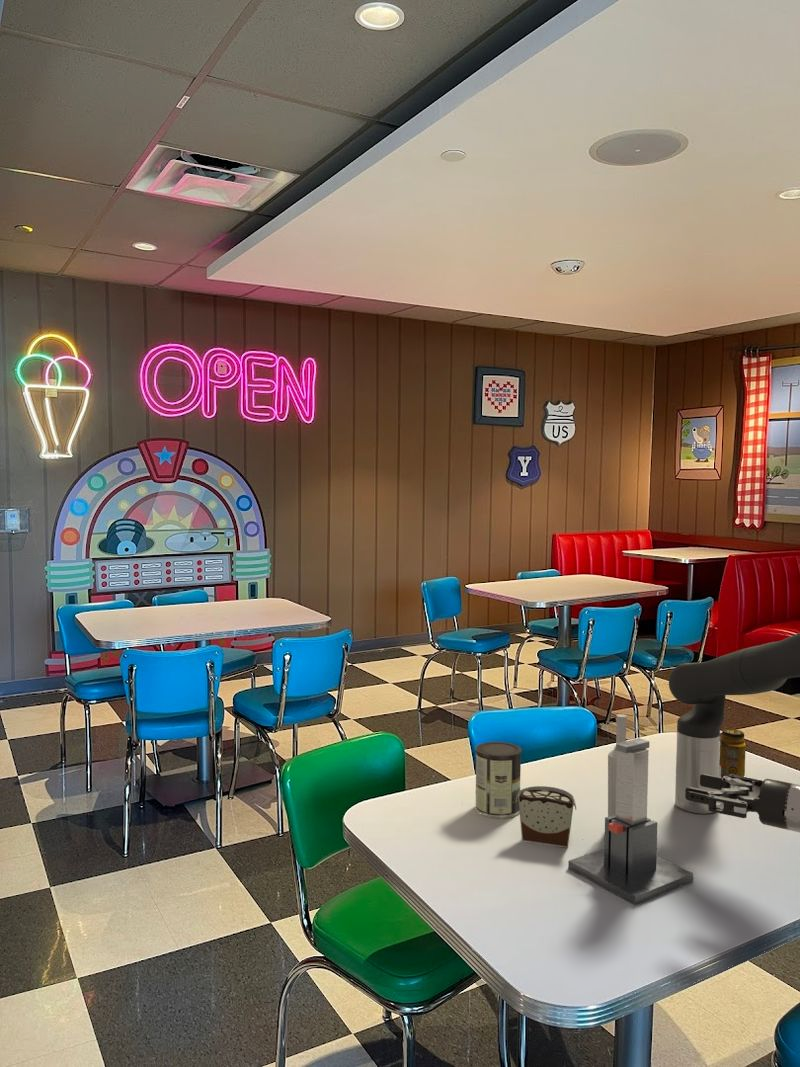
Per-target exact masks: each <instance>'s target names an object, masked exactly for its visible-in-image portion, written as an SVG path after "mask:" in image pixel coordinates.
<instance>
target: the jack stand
mask: <svg viewBox="0 0 800 1067" xmlns="http://www.w3.org/2000/svg"><path fill="white" fill-rule="evenodd" d="M615 818H616V814H615V815H612V816H608V815H607V816H606V817H604V845H603V846H604V847H603V848H602V849H598V850H596V851H593V852H590V853H586V854H584V855H581V856H579V857H575V858H572V859H569V860H568V866H567V867H568V870H571V871H572V872H574V873H576V874H578V875H579V876H581V877H583V878H585V879H587V880H589V881H590V882H592V883H594V884H596V885H598V886H600V887H602V888H604V889H605V890H606V891H609V892H611V893H613V895H614V894H615V895H616V896H618V897H620V898H622V899H623V900H625V901H627V902H629V903H630V904H633V905H634V906H636V905H638V904H641V903H643V902H645V901H649V900H650V899H653V898H655V897H657V896H660V894H661V895H663V894H665V893H667V892H670V891H672V889H673V890H675V889H678V888H680V887H682V886H684V884H685V885H687V884H689V882H690V883H692V882H694V872H692V871H689V870H688V869H685V868H684V867H681V866H679V865H677V864H675V863H673V862H671V861H668V860H666V859H664V858H662V857H661V856H658V852H657V850H658V821H655V820H651V819H650V818H648V817H647V823H644V824H641V825H638V826H634V827H631V828H630V826H629V825H627V824H624V823H622V822H620V821H618V820H616V819H615ZM691 881H692V882H691ZM686 883H687V884H686ZM681 885H682V886H681ZM679 886H680V887H679ZM669 890H670V891H669Z"/></svg>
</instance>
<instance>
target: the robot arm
mask: <svg viewBox="0 0 800 1067" xmlns="http://www.w3.org/2000/svg"><path fill="white" fill-rule="evenodd" d="M792 678H800V632H798V633H796V634H793V635H791V636H789V637H787V638H784V639H782V640H779V641H772V642H767V643H763V644H760V645H754V646H750V647H747V648H742V649H738V650H736V651H733V652H730V653H727V654H724V655H721V656H719V657H716V658H713V659H711V660H708V661H704V662H703V661H702V662H685V663H681V664H678V665H677V666H675V667H674V668H673V670H671V673H670V675H669V677H668V688H669V690H670V693H671V695H672V696H673V697H674V698H675V700H677V701H678V702H680V703H682V704H685V705H694V706H693V708H691V709H690V710H688V712H686V713H684V714H683V715H681V716H680V717H678V719H677V721H676V752H675V754H676V756H675V760H676V761H675V762H676V763H675V794H674V795H675V796H674V804H675V806H676V807H677V808H679V809H681V810H683V811H686V812H689V813H694V814H701V815H702V814H712V813H713V814H714V813H716V814H721V815H727V816H732V817H735V818H739V819H740V818H741V819H747V816H748V815H747V814H748V813H750V812H751V813H757V815H758V819H759V821H760V823H761V824H762V825H765V826H770V827H774V828H779V829H783V830H786V831H787V830H788V831H792V832H795V833H796V832H797V833H800V784H797V783H792V782H786V781H783V780H782V781H781V780H776V779H771V778H765V779H764V780H762V779H756V778H747V777H748V776H747V777H743V776H738V775H734V774H730V775H729V777H728V776H723V778H722V777H721V766H720V765H719V757H720V741H721V728H722V726H723V724H724V719H725V718H724V717H725V705H726V696H747V695H757V694H762V693H769V692H771V691H772V692H773V691H775V690H777V689H779V688H780V687H782V686H784V684H785V683H786V682H787V680H788V679H792Z"/></svg>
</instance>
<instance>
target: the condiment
mask: <svg viewBox="0 0 800 1067" xmlns="http://www.w3.org/2000/svg"><path fill="white" fill-rule="evenodd" d="M746 746H747V745H746V743H745V733H744V731H742V730H740V729H736V728H725V729H724V728H723V729H722V731H721V736H720V752H719V765H720V766H721V777H722V778H723V776H728V777H729V775H730V774H734V775H738V776H743V777H744V776H746V775H745V773H746V752H747V751H746Z"/></svg>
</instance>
